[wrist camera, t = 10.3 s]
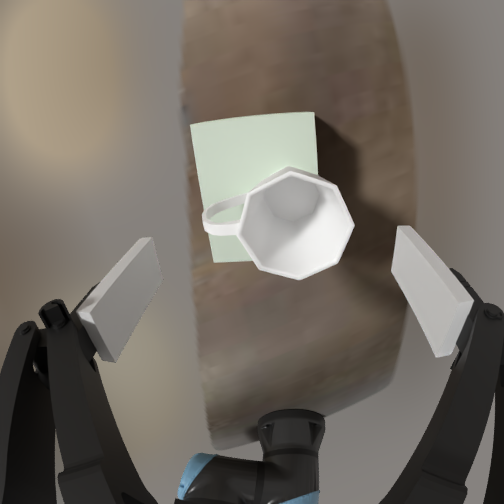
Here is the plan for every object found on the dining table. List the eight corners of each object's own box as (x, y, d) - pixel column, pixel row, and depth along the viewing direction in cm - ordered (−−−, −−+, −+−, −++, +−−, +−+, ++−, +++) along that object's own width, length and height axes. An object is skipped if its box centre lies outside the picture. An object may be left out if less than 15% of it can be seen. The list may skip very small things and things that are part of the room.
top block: (315, 238, 30) (319, 257, 26) (221, 243, 31) (214, 262, 28) (308, 111, 24) (314, 112, 20) (202, 122, 25) (190, 124, 21)
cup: (333, 226, 25) (353, 276, 18) (222, 235, 26) (201, 287, 19) (329, 146, 21) (354, 166, 14) (207, 160, 23) (175, 185, 16)
